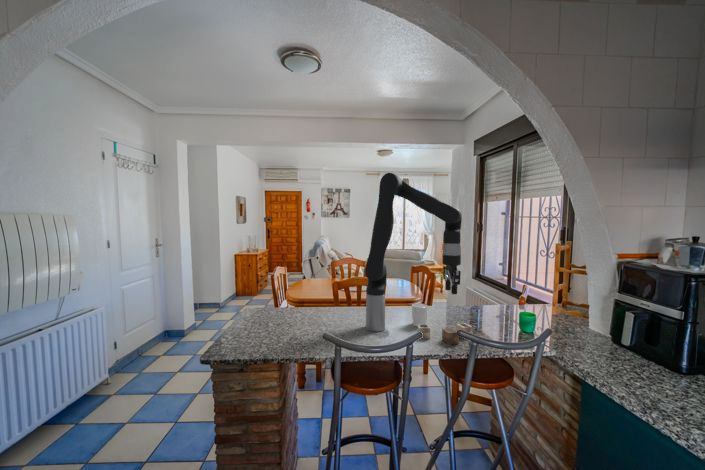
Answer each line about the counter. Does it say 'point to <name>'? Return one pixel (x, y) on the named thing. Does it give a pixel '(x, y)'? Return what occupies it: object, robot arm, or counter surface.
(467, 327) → the beech cube right
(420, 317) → the white cup
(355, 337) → the counter surface
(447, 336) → the walnut cube
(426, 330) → the beech cube left
